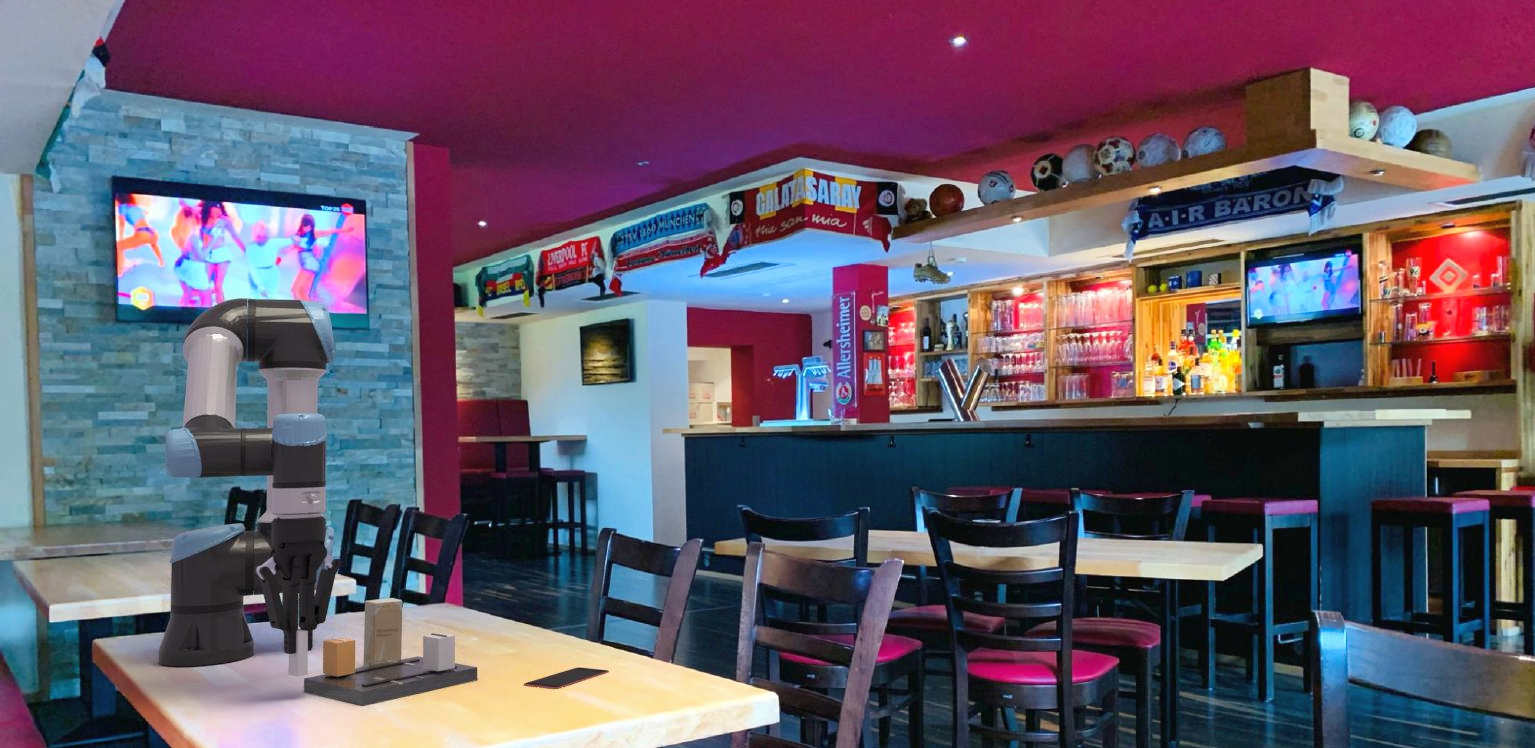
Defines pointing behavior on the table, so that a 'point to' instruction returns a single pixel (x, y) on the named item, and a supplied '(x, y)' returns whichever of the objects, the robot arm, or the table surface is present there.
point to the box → (382, 631)
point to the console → (387, 681)
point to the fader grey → (438, 651)
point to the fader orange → (338, 656)
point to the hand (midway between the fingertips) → (298, 674)
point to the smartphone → (566, 678)
